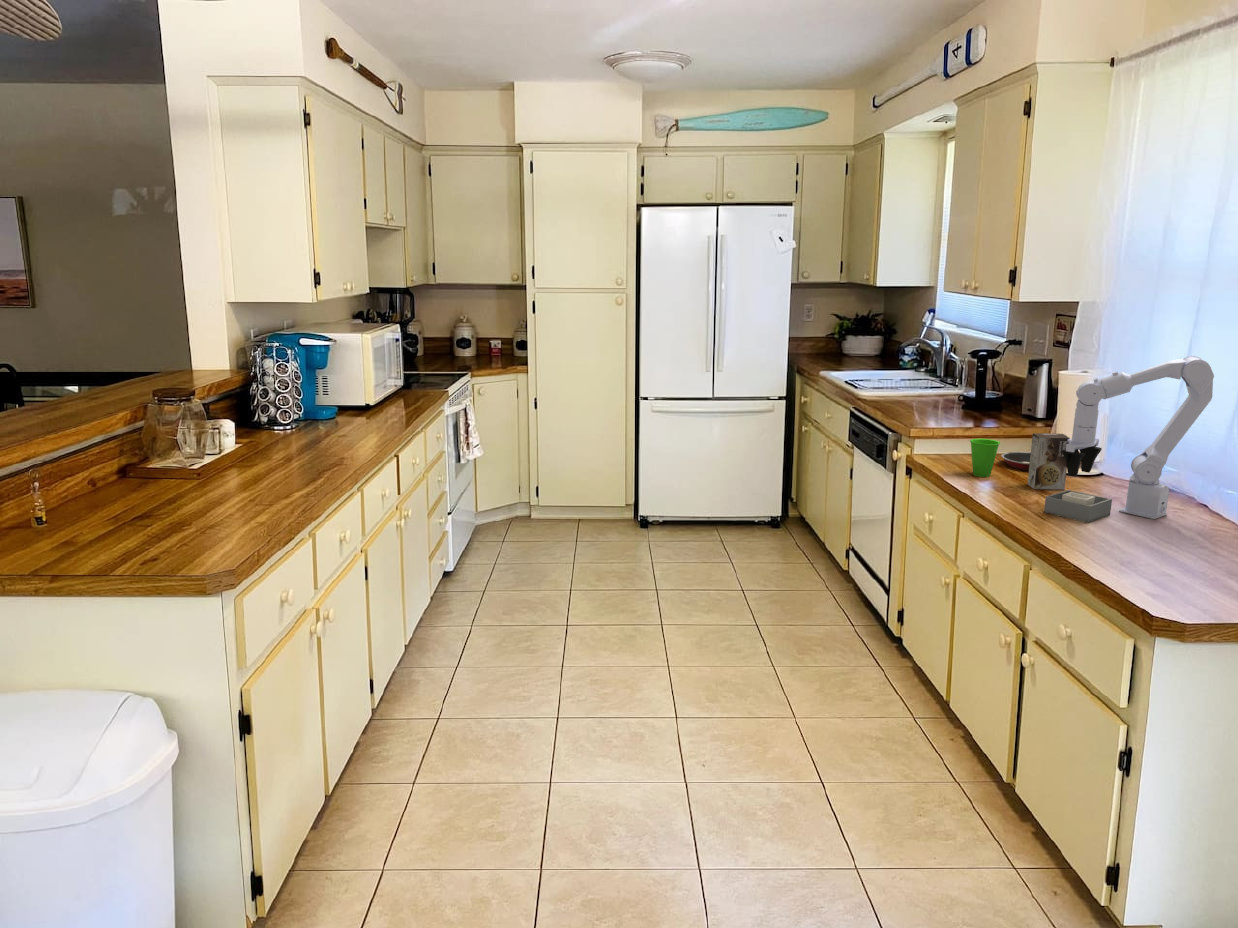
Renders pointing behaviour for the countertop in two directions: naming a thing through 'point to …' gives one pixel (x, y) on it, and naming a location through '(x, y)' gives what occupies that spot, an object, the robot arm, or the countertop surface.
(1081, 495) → the white crate
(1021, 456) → the frying pan
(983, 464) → the cup
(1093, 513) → the grey shallow square box
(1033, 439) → the coffee box
